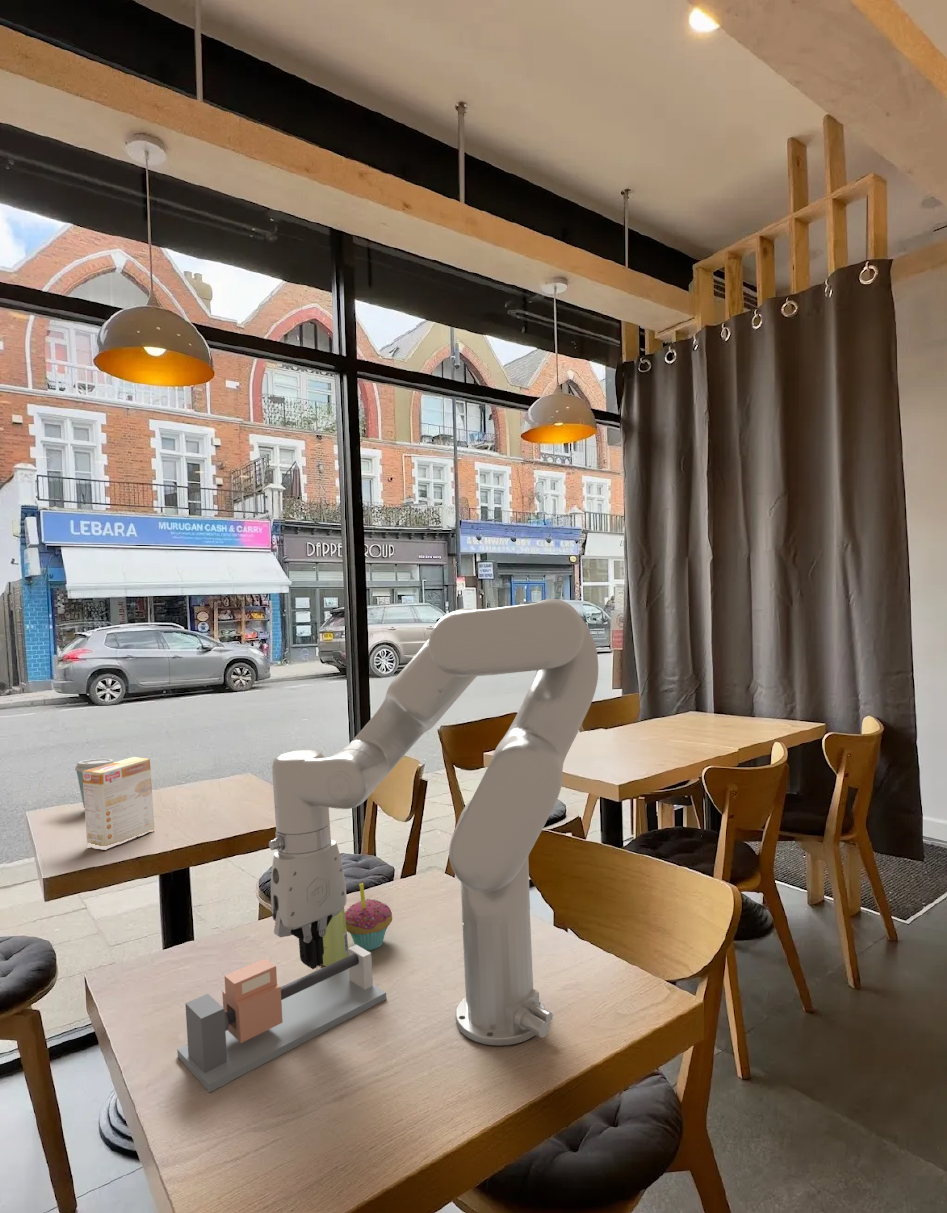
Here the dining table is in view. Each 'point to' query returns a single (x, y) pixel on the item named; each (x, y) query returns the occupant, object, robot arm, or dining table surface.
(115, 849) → the dining table surface
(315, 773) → the robot arm
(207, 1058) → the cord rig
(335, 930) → the tube
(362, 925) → the cupcake
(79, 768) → the disposable coffee cup
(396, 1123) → the dining table surface
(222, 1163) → the dining table surface
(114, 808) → the coffeecake box
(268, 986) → the sleeve
